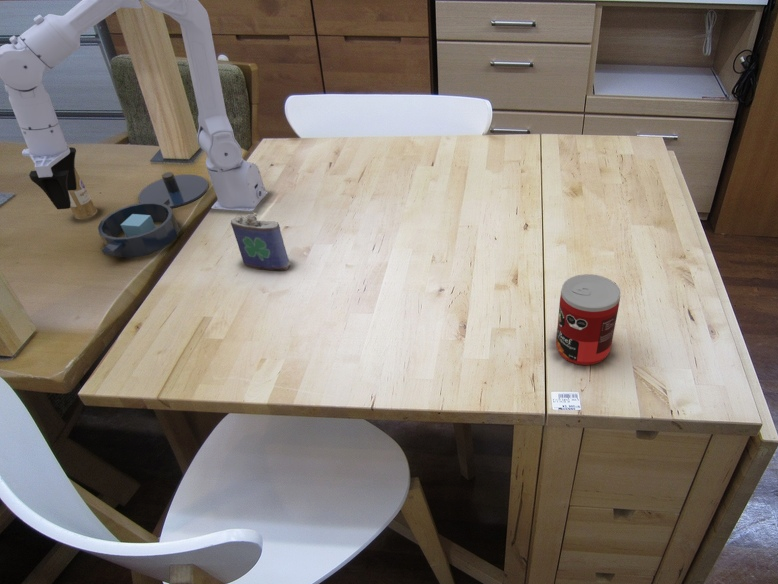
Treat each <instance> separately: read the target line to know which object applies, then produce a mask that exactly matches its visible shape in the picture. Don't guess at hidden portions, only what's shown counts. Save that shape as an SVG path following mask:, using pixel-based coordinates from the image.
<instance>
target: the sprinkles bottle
mask: <svg viewBox="0 0 778 584" xmlns="http://www.w3.org/2000/svg"><path fill="white" fill-rule="evenodd" d="M75 176H76V184H77V189H76V190H69V191H68V192H69V197H70V203H71V207H70V208H69V209H70V210H71V211H72V213H73V216H74V219H77V220H85V219H89V218H92V217H93V216H95V215H96V214H97V213H98V209H97V208H96V206H95V205H94V202H93V200H92V198H91V195H90V193H89V191H88V190H87V188H86V185H85V184H84V182H83V180H82V178H81V177H80V175H79V173H78V171H77V169H76V168H75Z"/></svg>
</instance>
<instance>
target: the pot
mask: <svg viewBox="0 0 778 584" xmlns="http://www.w3.org/2000/svg"><path fill="white" fill-rule="evenodd" d="M169 204H170V201H169V199H161V198H158V199H157V200H156V201H155V202H144V203H140V202H139V203H134V204H130V205H126V206H124V207H121V208H118V209H117V210H115V211H112V212H111V213H109V214H108V215H107V216H105V217H104V218H103V219H102V220H101V221H100V223H98V226H97V230H98V235H99V236H100V239H101V240H102V243H103V244H104V246H105V247H104V248H102V249H101V252H102V253H103V255H104V256H115V257H118V258H125V259H131V258H138V257H139V258H140V257H144V256H149V255H151V254H154V253H155V252H159V251H161V250H163V249H164V248H166V247H168V246H169V245H171V244H172V243H173V242H174V241H175V240H176V239H177V238H178V237H179V234H180V226H179V225H178V222H177V220H176V217H175V215H174V213H173V209H172V208H170V207H169V206H168V205H169ZM132 214H140V215H151V217H152V220H153V222H162V223H161V224H160V225H158V226H156V228H155V229H153V230H151V231H149V232H146V233H143V234H141V235H136V236H131V237H126V236H123V237H122V236H121V237H118V235H119V234H120V233H121V232H124V231H123V229H122V227H121V224H122V223H123V222H124V221H125V220H126V219H127V218H129V217H130V216H131V215H132Z"/></svg>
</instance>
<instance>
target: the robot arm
mask: <svg viewBox="0 0 778 584" xmlns="http://www.w3.org/2000/svg"><path fill="white" fill-rule="evenodd" d="M140 1H142V2H143V3H144V4H145V5H147V6H148V7H149V8H150V9H153V11H154V10H155V11H157V12H159V13H162V14H165V15H168V16H169V17H170V18H172V19H173V20H174V21H176V22H177V23H178V24H179V27H180V30H181V35H182V41H183V45H184V49H185V54H186V60H187V63H188V68H189V73H190V78H191V79H190V80H191V84H192V87H193V92H194V97H195V102H196V107H197V111H198V116H197V123H198V131H197V133H196V142H197V144H198V147H199V148H200V149H201V150H202V151H203V152H204V153H205V155H206V160H205V167H206V170H207V172H208V176H209V179H210V180H211V184H212V187H213V190H214V193H215V196H216V198H217V200H216V202H214V204H213V205H212V206H210V207H211V209H214V210H215V209H216V210H230V211H244V212H245V211H247V212H254V210H255V209H256V208H257V206H258V205H259V204H260V203H261V202H262V200H263V199H264V198H265V197H266V196H267V194H268V193H269V192H268V191H266V189H265V185H264V181H263V177H262V174H261V171H260V168H259V166H258V165H257V164H256V163H254V162H249V161H247V160H245V158H243V149H242V147H241V146H240V144H239V142H238V141H237V140H236V138H235V135H234V130H233V127H232V124H231V122H230V120H229V118H228V115H227V109H226V105H225V100H224V94H223V88H222V83H221V78H220V71H219V66H218V65H219V64H218V60H217V55H216V50H215V44H214V39H213V34H212V28H211V22H210V17H209V14H208V11H207V9H206V8H205V7H204V6H203V5H202V2H200V1H199V0H81V1H79V2H78V3H76V5H74V6H73V7H72V8H71V9H69V10H68V11H67V12H66V13H64V14H63V15H57V14H53V13H48V14H46V15H45V16H44V17H43V16H42V15H41V14H38V15H36V16H35V17H34V18H33V21H34V23H35V24H33V25H31V27H29V28H28V29H27V30H25V31H24V32H23V33H21V34H20V35H19V36H16V35H12V36H10V38H9V42H10V44H9V43H5V44H2V45H1V46H0V80H1V81H3V83H4V89H5V92H6V93H7V94H8V102H9V103H10V106H11V109H12V111H13V114H14V116H15V119H16V122H17V124H18V126H19V128H20V131H21V134H22V137H23V139H24V142H25V144H26V146H27V147H26V148H24V149H23V150H22V151H21V155H22V157H23V158H30V159H31V161H32V162H33V164H34V170H31V171H30V172H29V174H28V176H29V178H30V180H31V181H32V183H34V184H35V185H37V186H38V187H39V188H40V189H41V190H42V191H43V193H45V195H46V196H47V197H48V199H49V200H50V202H51V203H52V205H53V206H54V207H55V208H56V210H69V209H71V208H70V207H71V203H70V197H69V192H68V191H69V190H76V189H77V184H76V176H75V169H76V167H75V165H76V164H75V163H76V162H75V161H76V153H77V150H76V148H75V147H71V146H70V147H69V145H68V143H67V141H66V138H65V135H64V133H63V129H62V128H61V124H60V121H59V120H58V119H59V118H58V116H57V113H56V111H55V108H54V105H53V103H52V99H51V96H50V94H49V93H48V92H47V90H46V88H45V86H44V84H43V76H44V75H43V73H45V72H50V71H51V70H52V69H54V68H55V67H56V66H58V65H59V64H61V63H62V62H63V61H64V60H66V59H67V58H69V57H70V56H71V55H72V54H73V53H75V52H76V51H78V50H79V49H80V48H81V36H82V35H83V34H84V33H86V32H87V31H89V30H91V29H92V28H93V27H94V26H96V25H98V24H99V23H100V22H103V20H105V19H106V18H108V17H109V16H111V15H112V14H113V13H115V12H116V11H118V10H119V9H122V8H123V9H135V10H136V9H137V10H138V9H139V10H141V9H143V6H142V4H141V2H140Z"/></svg>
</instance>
